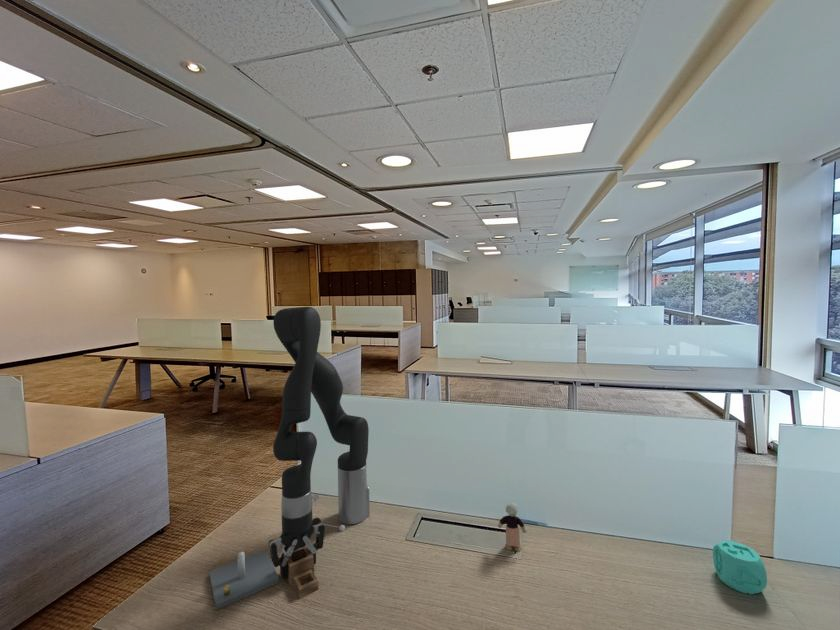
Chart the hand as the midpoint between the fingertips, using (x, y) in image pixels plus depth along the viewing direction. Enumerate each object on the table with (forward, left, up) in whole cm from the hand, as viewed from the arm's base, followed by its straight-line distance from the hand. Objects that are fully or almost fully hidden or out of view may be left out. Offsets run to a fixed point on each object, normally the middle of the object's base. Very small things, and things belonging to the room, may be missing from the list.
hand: (298, 571), depth 96 cm
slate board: (+12, -7, -1) cm, 14 cm away
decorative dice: (-88, +68, -1) cm, 111 cm away
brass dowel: (+16, -2, +1) cm, 16 cm away
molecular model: (-12, -13, -1) cm, 17 cm away
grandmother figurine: (-53, +26, -1) cm, 59 cm away
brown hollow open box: (0, +3, -1) cm, 3 cm away
